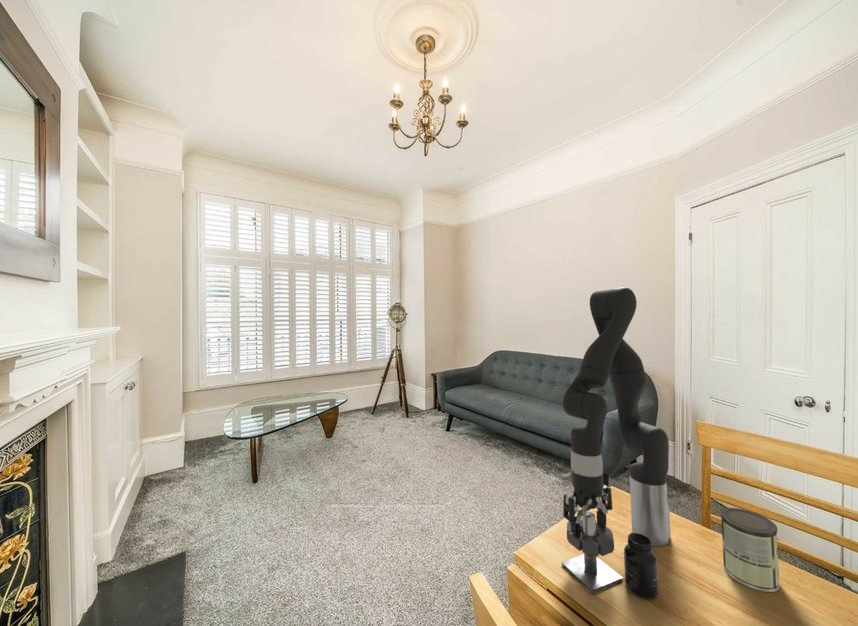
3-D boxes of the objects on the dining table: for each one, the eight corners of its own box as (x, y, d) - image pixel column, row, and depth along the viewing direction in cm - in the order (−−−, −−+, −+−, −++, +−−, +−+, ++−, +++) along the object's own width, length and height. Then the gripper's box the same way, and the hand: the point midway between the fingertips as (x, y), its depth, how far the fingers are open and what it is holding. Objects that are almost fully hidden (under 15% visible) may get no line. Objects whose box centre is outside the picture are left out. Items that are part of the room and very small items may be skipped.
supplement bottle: (664, 602, 76) (661, 550, 77) (631, 598, 78) (629, 547, 78) (650, 579, 83) (648, 531, 83) (620, 575, 85) (618, 528, 85)
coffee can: (715, 557, 90) (712, 504, 90) (763, 565, 86) (761, 510, 86) (736, 587, 80) (733, 528, 80) (791, 597, 77) (788, 536, 77)
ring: (588, 523, 93) (588, 514, 93) (623, 547, 83) (623, 538, 83) (558, 533, 89) (557, 524, 89) (590, 560, 79) (590, 550, 79)
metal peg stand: (590, 554, 92) (587, 500, 93) (622, 580, 83) (619, 520, 83) (561, 565, 89) (559, 509, 89) (592, 594, 79) (589, 531, 80)
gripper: (595, 457, 92) (597, 516, 92) (554, 467, 87) (556, 529, 87) (619, 469, 85) (621, 532, 85) (576, 480, 80) (579, 548, 80)
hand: (589, 531), depth 86 cm, fingers open, 8 cm apart
